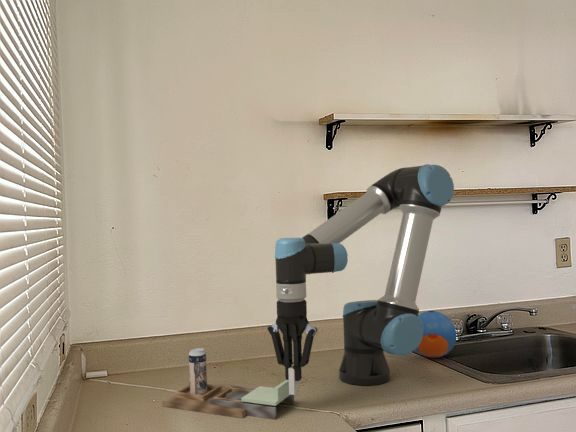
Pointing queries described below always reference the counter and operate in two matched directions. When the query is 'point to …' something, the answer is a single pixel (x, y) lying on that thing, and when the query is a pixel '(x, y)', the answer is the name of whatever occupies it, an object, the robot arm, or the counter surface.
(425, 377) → the counter surface
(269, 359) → the counter surface
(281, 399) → the lid
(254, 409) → the housing
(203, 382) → the beer can
